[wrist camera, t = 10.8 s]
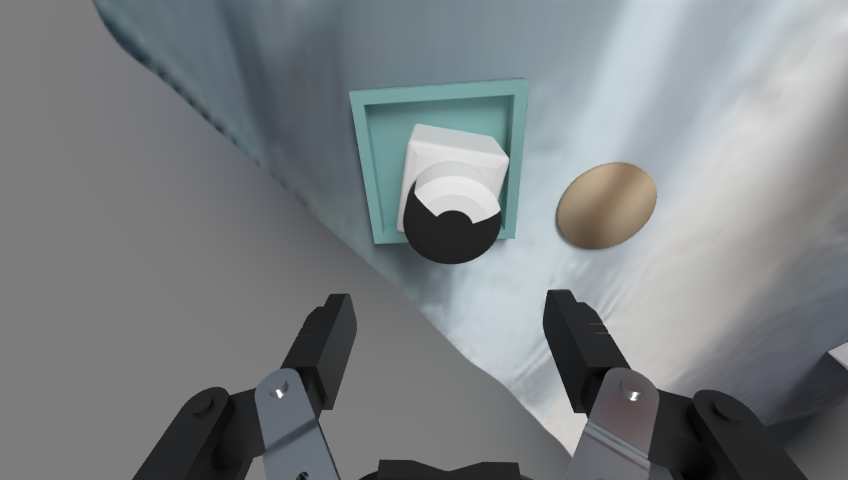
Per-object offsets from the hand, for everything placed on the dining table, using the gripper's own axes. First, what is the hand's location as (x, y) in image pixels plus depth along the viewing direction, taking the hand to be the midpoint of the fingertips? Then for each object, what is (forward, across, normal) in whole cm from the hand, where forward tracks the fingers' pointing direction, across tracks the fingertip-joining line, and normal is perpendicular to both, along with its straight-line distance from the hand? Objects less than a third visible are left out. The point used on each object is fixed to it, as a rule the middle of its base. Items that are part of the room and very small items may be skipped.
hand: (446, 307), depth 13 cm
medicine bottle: (+19, 0, 0) cm, 19 cm away
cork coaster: (+19, -16, +5) cm, 25 cm away
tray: (+19, 0, 0) cm, 19 cm away
